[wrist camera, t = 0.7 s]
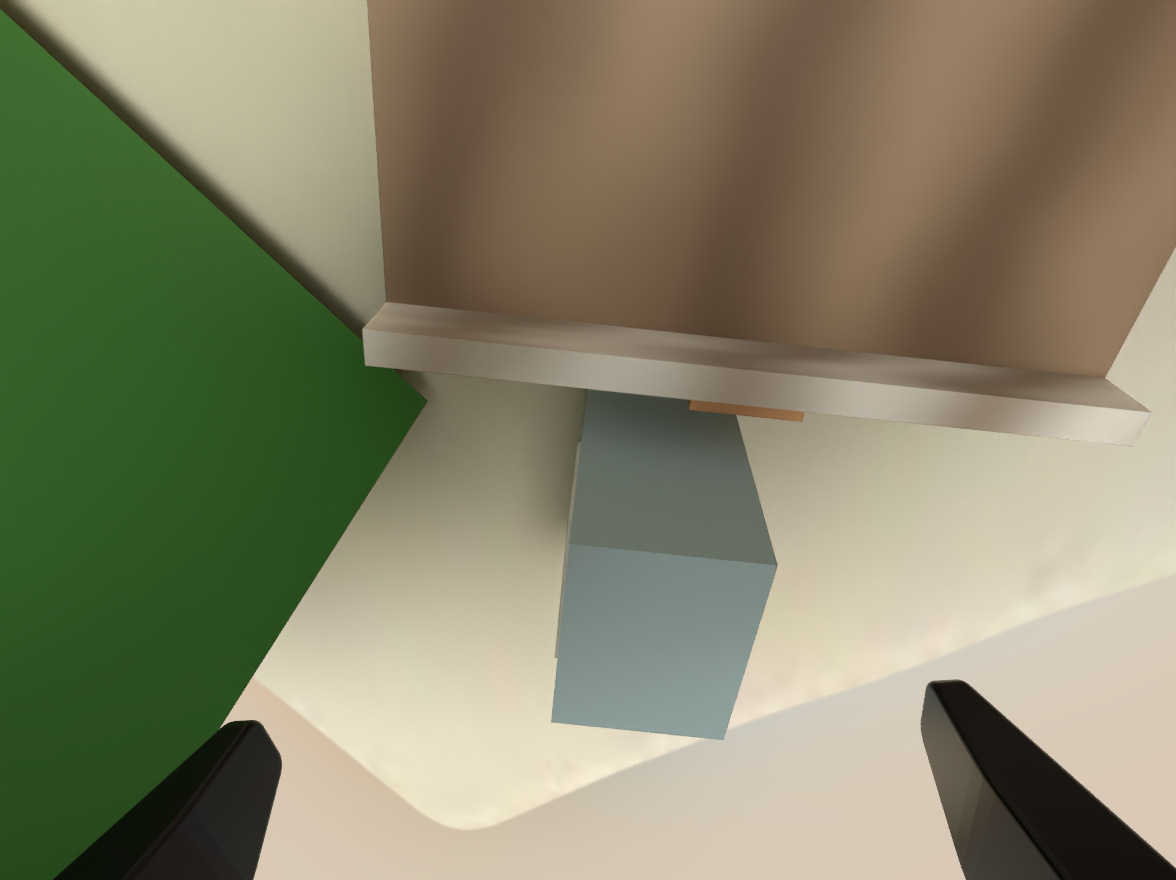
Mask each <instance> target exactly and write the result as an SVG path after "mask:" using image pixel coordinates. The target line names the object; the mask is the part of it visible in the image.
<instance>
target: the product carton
mask: <svg viewBox="0 0 1176 880" xmlns="http://www.w3.org/2000/svg"><path fill="white" fill-rule="evenodd" d="M777 566H778V565H777V562H776V558H775V555H774V551H773V547H772V544H771V540H770V537H769V533H768V529H767V526H766V522H765V519H764V515H763V511H762V508H761V504H760V501H759V497H758V493H757V490H756V486H755V483H754V479H753V475H752V472H751V468H750V464H749V461H748V457H747V454H746V450H745V446H744V443H743V439H742V436H741V432H740V428H739V425H738V421H737V418H736V415H734V414H725V413H715V412H706V411H696V410H689V406H688V400H687V399H679V398H669V397H660V396H650V395H641V394H631V393H622V392H612V391H603V390H593V389H587V394H586V403H585V412H584V420H583V429H582V438H581V442H578V444H577V452H576V460H575V468H574V476H573V484H572V492H571V501H570V509H569V517H568V526H567V537H566V547H565V557H564V567H563V578H562V588H561V598H560V608H559V619H558V629H557V639H556V649H555V658H558V661H557V671H556V681H555V690H554V700H553V710H552V720H551V722H554V723H564V724H574V725H583V726H593V727H602V728H612V729H622V730H631V731H641V732H651V733H660V734H670V735H679V736H689V737H699V738H708V739H718V740H723V739H724V736H725V733H726V730H727V727H728V723H729V720H730V717H731V714H732V711H733V707H734V704H735V701H736V698H737V694H738V691H739V688H740V685H741V682H742V678H743V675H744V672H745V669H746V666H747V662H748V659H749V656H750V653H751V649H752V646H753V643H754V640H755V637H756V633H757V630H758V627H759V624H760V621H761V617H762V614H763V611H764V608H765V604H766V601H767V598H768V595H769V592H770V588H771V585H772V582H773V579H774V575H775V572H776V569H777Z"/></svg>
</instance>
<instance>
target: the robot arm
mask: <svg viewBox="0 0 1176 880" xmlns="http://www.w3.org/2000/svg"><path fill="white" fill-rule="evenodd" d="M921 733H922V738H923V742H924V746H925V749H926V752H927V756H928V759H929V763H930V766H931V769H932V773H933V776H934V779H935V782H936V786H937V789H938V792H939V796H940V799H941V803H942V806H943V809H944V813H945V816H946V819H947V823H948V826H949V829H950V832H951V836H952V839H953V842H954V846H955V849H956V852H957V855H958V858H959V862H960V865H961V868H962V870H963V873H964V876H965V878H966V880H1176V868H1175V867H1174V866H1173V865H1172V864H1170V862H1168V861H1167V860H1166V859H1165V858H1164V857H1163V856H1162V855H1160V854H1159V853H1158V852H1157V851H1156V850H1155V849H1154V848H1153V847H1151V846H1150V845H1149V844H1148V843H1147V842H1146V841H1144V839H1142V838H1141V837H1140V836H1139V835H1138V834H1137V833H1136V832H1135V831H1133V830H1132V829H1131V828H1130V827H1129V826H1128V825H1127V824H1125V823H1124V822H1123V821H1122V820H1121V819H1120V818H1119V817H1118V816H1117V815H1115V814H1114V813H1113V812H1112V811H1111V810H1110V809H1109V808H1108V807H1106V806H1105V805H1104V804H1103V803H1102V802H1101V801H1100V800H1099V799H1097V798H1096V797H1095V796H1094V795H1093V794H1092V793H1091V792H1090V791H1088V790H1087V789H1086V788H1085V787H1084V786H1083V785H1082V784H1080V783H1079V782H1078V781H1077V780H1076V779H1075V778H1074V777H1073V776H1072V775H1070V774H1069V773H1068V772H1067V771H1066V770H1065V769H1064V768H1063V767H1061V766H1060V765H1059V764H1058V763H1057V762H1056V761H1055V760H1054V759H1052V758H1051V757H1050V756H1049V755H1048V754H1047V753H1046V752H1045V751H1043V750H1042V749H1041V748H1040V747H1039V746H1038V745H1037V744H1036V743H1034V742H1033V741H1032V740H1031V739H1030V738H1029V737H1028V736H1027V735H1025V734H1024V733H1023V732H1022V731H1021V730H1020V729H1019V728H1018V727H1016V726H1015V725H1014V724H1013V723H1012V722H1011V721H1010V720H1008V719H1007V718H1006V717H1005V716H1004V715H1003V714H1002V713H1001V712H999V711H998V710H997V709H996V708H995V707H994V706H993V705H992V704H990V703H989V702H988V701H987V700H986V699H985V698H984V697H983V696H981V695H980V694H979V693H978V692H977V691H976V690H975V689H973V688H972V687H971V686H970V685H969V684H968V683H966V682H964V681H962V680H939V681H931V682H930V683H928V685H927V687H926V691H925V698H924V704H923V711H922V717H921ZM281 769H282V760H281V755H280V753H279V751H278V750H277V748H276V746H275V745H274V743H273V741H272V740H271V738H270V736H269V735H268V733H267V731H266V730H265V728H264V726H263V725H262V724H261V723H260V722H258V721H256V720H247V721H234V722H230V723H227V724H226V725H224V726H223V727H222V728H220V729H219V730H218V731H217V732H216V733H215V734H214V735H213V736H212V737H210V738H209V739H208V740H207V741H206V742H205V743H204V744H203V745H202V746H200V747H199V748H198V749H197V750H196V751H195V752H194V753H193V754H192V755H190V756H189V757H188V758H187V759H186V760H185V761H184V762H183V763H182V764H180V765H179V766H178V767H177V768H176V769H175V770H174V771H173V772H172V773H170V774H169V775H168V776H167V777H166V778H165V779H164V780H163V781H161V782H160V783H159V784H158V785H157V786H156V787H155V788H154V789H153V790H151V791H150V792H149V793H148V794H147V795H146V796H145V797H144V798H143V799H141V800H140V801H139V802H138V803H137V804H136V805H135V806H134V807H133V808H131V809H130V810H129V811H128V812H127V813H126V814H125V815H124V816H123V817H121V818H120V819H119V820H118V821H117V822H116V823H115V824H114V825H113V826H111V827H110V828H109V829H108V830H107V831H106V832H105V833H104V834H103V835H101V836H100V837H99V838H98V839H97V840H96V841H95V842H94V843H93V844H91V845H90V846H89V847H88V848H87V849H86V850H85V851H84V852H83V853H81V854H80V855H79V856H78V857H77V858H76V859H75V860H74V861H73V862H71V863H70V864H69V865H68V866H67V867H66V868H65V869H64V870H63V871H61V872H60V873H59V874H58V875H57V876H56V877H55V878H54V879H53V880H253V879H254V875H255V871H256V868H257V864H258V860H259V857H260V853H261V849H262V845H263V841H264V837H265V833H266V830H267V826H268V822H269V818H270V814H271V810H272V806H273V802H274V799H275V795H276V790H277V787H278V783H279V779H280V775H281Z"/></svg>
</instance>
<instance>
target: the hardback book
mask: <svg viewBox="0 0 1176 880" xmlns="http://www.w3.org/2000/svg"><path fill="white" fill-rule="evenodd" d="M426 402H427V400H426V399H425V398H424V397H423V396H422V395H421V394H420V393H419V392H418V391H417V390H415V389H414V388H413V387H412V386H411V385H410V384H409V383H408V382H407V381H406V380H405V379H403V378H402V377H401V376H400V375H399V374H398V373H397V372H396V371H395V370H394V369H393V368H384V367H375V366H365V357H364V345H363V341H362V340H361V339H360V338H359V337H358V336H357V335H355V334H354V333H353V332H352V331H351V330H350V329H349V328H348V327H347V326H346V325H345V324H343V323H342V322H341V321H340V320H339V319H338V318H337V317H336V316H335V315H334V314H333V313H331V312H330V311H329V310H328V309H327V308H326V307H325V306H324V305H323V304H322V303H321V302H319V301H318V300H317V299H316V298H315V297H314V296H313V295H312V294H311V293H310V292H309V291H307V290H306V289H305V288H304V287H303V286H302V285H301V284H300V283H299V282H298V281H297V280H295V279H294V278H293V277H292V276H291V275H290V274H289V273H288V272H287V271H286V270H285V269H283V268H282V267H281V266H280V265H279V264H278V263H277V262H276V261H275V260H274V259H273V258H271V257H270V256H269V255H268V254H267V253H266V252H265V251H264V250H263V249H262V248H261V247H259V246H258V245H257V244H256V243H255V242H254V241H253V240H252V239H251V238H250V237H249V236H247V235H246V234H245V233H244V232H243V231H242V230H241V229H240V228H239V227H238V226H237V225H235V224H234V223H233V222H232V221H231V220H230V219H229V218H228V217H227V216H226V215H225V214H223V213H222V212H221V211H220V210H219V209H218V208H217V207H216V206H215V205H214V204H213V203H211V202H210V201H209V200H208V199H207V198H206V197H205V196H204V195H203V194H202V193H201V192H199V191H198V190H197V189H196V188H195V187H194V186H193V185H192V184H191V183H190V182H189V181H187V180H186V179H185V178H184V177H183V176H182V175H181V174H180V173H179V172H178V171H177V170H175V169H174V168H173V167H172V166H171V165H170V164H169V163H168V162H167V161H166V160H165V159H163V158H162V157H161V156H160V155H159V154H158V153H157V152H156V151H155V150H154V149H153V148H151V147H150V146H149V145H148V144H147V143H146V142H145V141H144V140H143V139H142V138H141V137H139V136H138V135H137V134H136V133H135V132H134V131H133V130H132V129H131V128H130V127H129V126H127V125H126V124H125V123H124V122H123V121H122V120H121V119H120V118H119V117H118V116H117V115H115V114H114V113H113V112H112V111H111V110H110V109H109V108H108V107H107V106H106V105H105V104H103V103H102V102H101V101H100V100H99V99H98V98H97V97H96V96H95V95H94V94H93V93H91V92H90V91H89V90H88V89H87V88H86V87H85V86H84V85H83V84H82V83H81V82H79V81H78V80H77V79H76V78H75V77H74V76H73V75H72V74H71V73H70V72H69V71H67V70H66V69H65V68H64V67H63V66H62V65H61V64H60V63H59V62H58V61H57V60H55V59H54V58H53V57H52V56H51V55H50V54H49V53H48V52H47V51H46V50H45V49H43V48H42V47H41V46H40V45H39V44H38V43H37V42H36V41H35V40H34V39H33V38H31V37H30V36H29V35H28V34H27V33H26V32H25V31H24V30H23V29H22V28H21V27H19V26H18V25H17V24H16V23H15V22H14V21H13V20H12V19H11V18H10V17H9V16H7V15H6V14H5V13H4V12H3V11H2V10H1V9H0V880H53V879H54V878H55V877H56V876H57V875H58V874H59V873H60V872H61V871H63V870H64V869H65V868H66V867H67V866H68V865H69V864H70V863H71V862H73V861H74V860H75V859H76V858H77V857H78V856H79V855H80V854H81V853H83V852H84V851H85V850H86V849H87V848H88V847H89V846H90V845H91V844H93V843H94V842H95V841H96V840H97V839H98V838H99V837H100V836H101V835H103V834H104V833H105V832H106V831H107V830H108V829H109V828H110V827H111V826H113V825H114V824H115V823H116V822H117V821H118V820H119V819H120V818H121V817H123V816H124V815H125V814H126V813H127V812H128V811H129V810H130V809H131V808H133V807H134V806H135V805H136V804H137V803H138V802H139V801H140V800H141V799H143V798H144V797H145V796H146V795H147V794H148V793H149V792H150V791H151V790H153V789H154V788H155V787H156V786H157V785H158V784H159V783H160V782H161V781H163V780H164V779H165V778H166V777H167V776H168V775H169V774H170V773H172V772H173V771H174V770H175V769H176V768H177V767H178V766H179V765H180V764H182V763H183V762H184V761H185V760H186V759H187V758H188V757H189V756H190V755H192V754H193V753H194V752H195V751H196V750H197V749H198V748H199V747H200V746H202V745H203V744H204V743H205V742H206V741H207V740H208V739H209V738H210V737H212V736H213V735H214V734H215V733H216V732H217V731H218V730H219V728H220V726H221V725H222V724H223V722H224V721H225V719H226V717H227V716H228V714H229V713H230V711H231V709H232V708H233V706H234V705H235V703H236V701H237V700H238V699H239V697H240V695H241V694H242V692H243V691H244V689H245V688H246V686H247V684H248V683H249V681H250V679H251V678H252V676H253V675H254V673H255V672H256V670H257V669H258V667H259V665H260V664H261V662H262V661H263V659H264V658H265V656H266V654H267V653H268V651H269V650H270V648H271V647H272V645H273V643H274V642H275V640H276V639H277V637H278V636H279V634H280V632H281V631H282V629H283V628H284V626H285V624H286V623H287V621H288V620H289V618H290V617H291V615H292V613H293V612H294V610H295V609H296V607H297V606H298V604H299V602H300V601H301V599H302V598H303V596H304V595H305V593H306V591H307V590H308V588H309V587H310V585H311V584H312V582H313V580H314V579H315V577H316V576H317V574H318V572H319V571H320V569H321V568H322V566H323V565H324V563H325V561H326V560H327V558H328V557H329V555H330V554H331V552H332V550H333V549H334V547H335V546H336V544H337V543H338V541H339V539H340V538H341V536H342V535H343V533H344V531H345V530H346V528H347V527H348V525H349V524H350V522H351V520H352V519H353V517H354V516H355V514H356V513H357V511H358V509H359V508H360V506H361V505H362V503H363V502H364V500H365V498H366V497H367V495H368V494H369V492H370V491H371V489H372V487H373V486H374V484H375V483H376V481H377V479H378V478H379V476H380V475H381V473H382V472H383V470H384V468H385V467H386V465H387V464H388V462H389V461H390V459H391V457H392V456H393V454H394V453H395V451H396V450H397V448H398V446H399V445H400V443H401V442H402V440H403V439H404V437H405V435H406V434H407V432H408V431H409V429H410V427H411V426H412V424H413V423H414V421H415V420H416V418H417V416H418V415H419V413H420V412H421V410H422V409H423V407H424V405H425V404H426Z"/></svg>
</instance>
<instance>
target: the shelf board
mask: <svg viewBox="0 0 1176 880" xmlns="http://www.w3.org/2000/svg"><path fill="white" fill-rule="evenodd" d="M367 5H368V21H369V36H370V52H371V68H372V84H373V100H374V116H375V132H376V147H377V163H378V179H379V195H380V211H381V227H382V243H383V258H384V274H385V290H386V303H385V304H384V305H383V306H382V307H381V308H380V310H379V311H378V312H377V313H376V314H375V315H374V316H373V318H372V319H371V320H370V321H369V322H368V323H367V324H366V326H365V327H364V328H363V329H362V333H363V345H364V357H365V366H375V367H384V368H394V369H403V370H413V371H422V372H432V373H441V374H451V375H460V376H470V377H479V378H489V379H498V380H508V381H517V382H527V383H536V384H546V385H555V386H565V387H574V388H584V389H593V390H603V391H612V392H622V393H631V394H641V395H650V396H660V397H669V398H679V399H687V400H688V406H689V410H696V411H706V412H715V413H725V414H734V415H744V416H753V417H763V418H772V419H782V420H791V421H801V422H802V419H803V416H804V412H812V413H821V414H831V415H840V416H850V417H859V418H869V419H878V420H888V421H897V422H907V423H916V424H926V425H935V426H945V427H954V428H963V429H973V430H982V431H992V432H1001V433H1011V434H1020V435H1030V436H1039V437H1049V438H1058V439H1068V440H1077V441H1087V442H1096V443H1106V444H1115V445H1125V446H1133V444H1134V442H1135V441H1136V439H1137V437H1138V436H1139V434H1140V432H1141V431H1142V429H1143V427H1144V426H1145V424H1146V422H1147V421H1148V419H1149V417H1150V415H1151V414H1152V412H1150V411H1149V410H1148V409H1146V408H1145V407H1144V406H1142V405H1141V404H1140V403H1138V402H1137V401H1135V400H1134V399H1133V398H1131V397H1130V396H1129V395H1127V394H1126V393H1125V392H1123V391H1122V390H1120V389H1119V388H1118V387H1116V386H1115V385H1114V384H1112V383H1111V382H1110V381H1108V380H1107V379H1105V377H1106V375H1107V373H1108V371H1109V369H1110V368H1111V366H1112V364H1113V362H1114V360H1115V358H1116V356H1117V354H1118V353H1119V351H1120V349H1121V347H1122V345H1123V343H1124V341H1125V340H1126V338H1127V336H1128V334H1129V332H1130V330H1131V328H1132V327H1133V325H1134V323H1135V321H1136V319H1137V317H1138V315H1139V314H1140V312H1141V310H1142V308H1143V306H1144V304H1145V302H1146V301H1147V299H1148V297H1149V295H1150V293H1151V291H1152V289H1153V288H1154V286H1155V284H1156V282H1157V280H1158V278H1159V276H1160V274H1161V273H1162V271H1163V269H1164V267H1165V265H1166V263H1167V261H1168V260H1169V258H1170V256H1171V254H1172V252H1173V250H1174V248H1175V247H1176V0H367Z"/></svg>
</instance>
